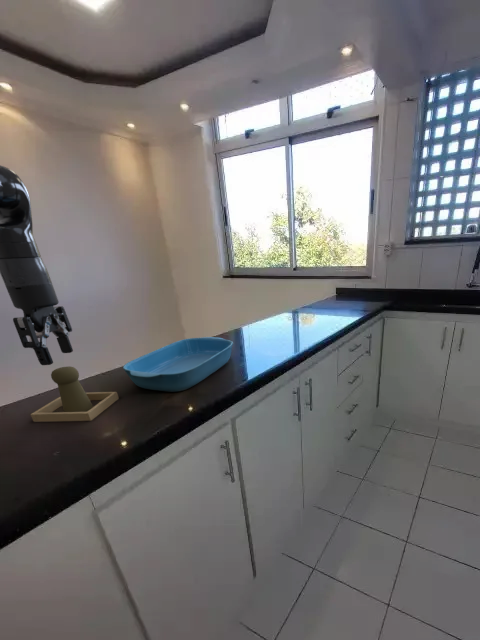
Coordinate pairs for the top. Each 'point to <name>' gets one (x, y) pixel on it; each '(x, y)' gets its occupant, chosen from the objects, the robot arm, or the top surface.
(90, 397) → the wooden frame
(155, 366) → the casserole dish
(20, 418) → the top surface
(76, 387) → the olive knobbed cone
